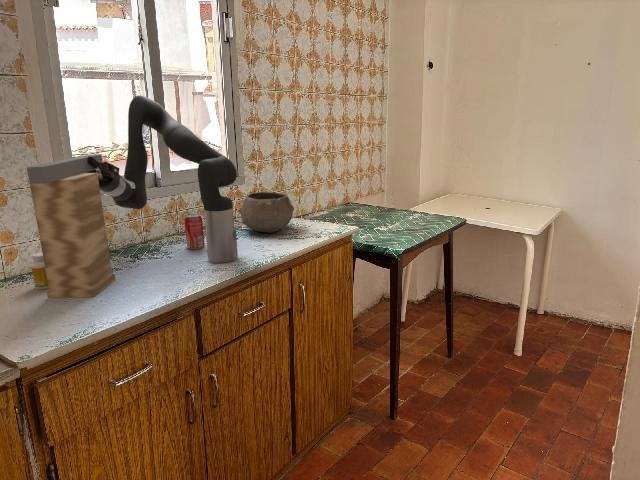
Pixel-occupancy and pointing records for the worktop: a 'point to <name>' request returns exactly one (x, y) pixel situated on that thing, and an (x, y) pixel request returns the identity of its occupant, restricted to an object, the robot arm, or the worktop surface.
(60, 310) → the worktop surface
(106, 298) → the worktop surface
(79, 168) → the block
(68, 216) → the stand
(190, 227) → the soda can
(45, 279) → the supplement bottle
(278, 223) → the clay pot
